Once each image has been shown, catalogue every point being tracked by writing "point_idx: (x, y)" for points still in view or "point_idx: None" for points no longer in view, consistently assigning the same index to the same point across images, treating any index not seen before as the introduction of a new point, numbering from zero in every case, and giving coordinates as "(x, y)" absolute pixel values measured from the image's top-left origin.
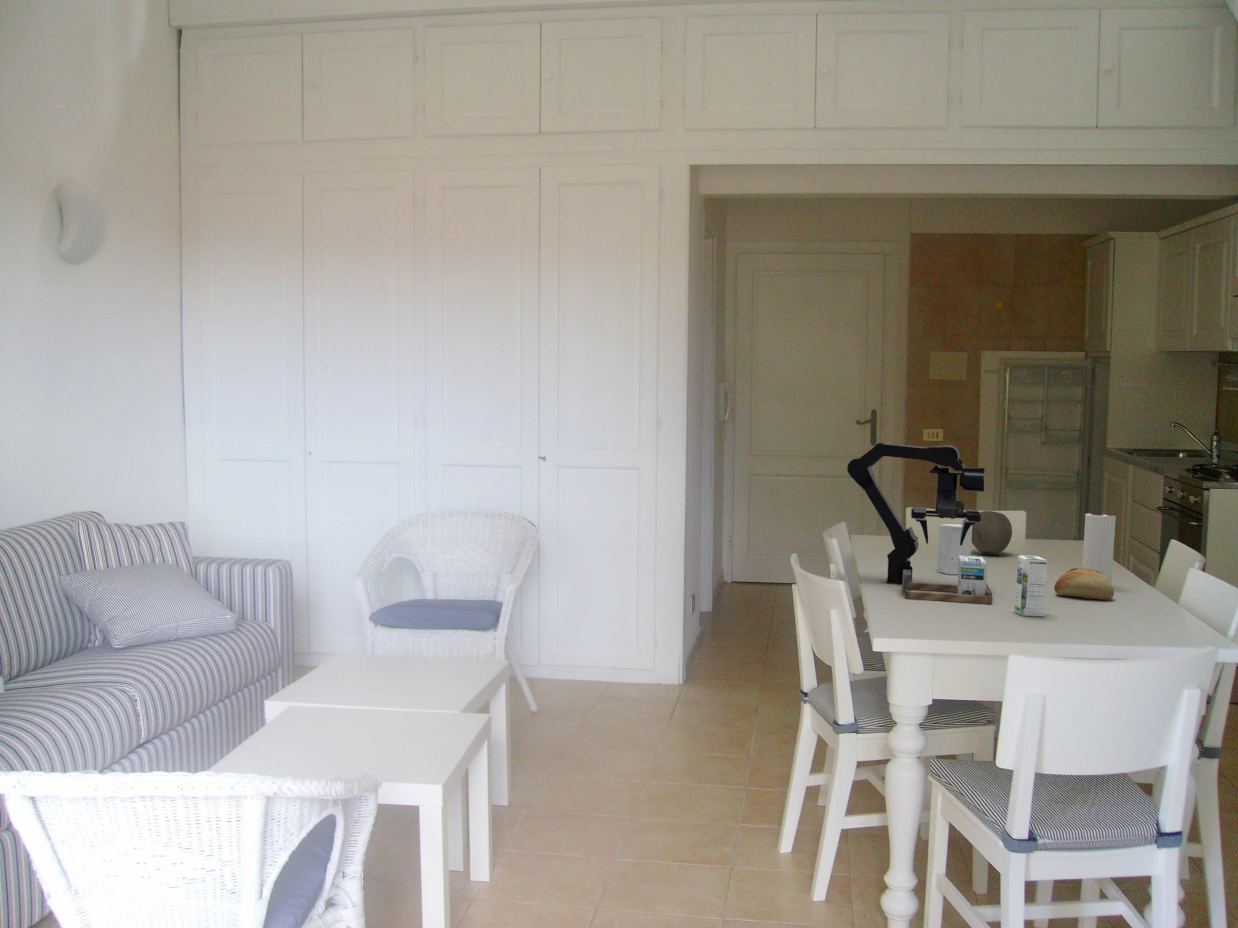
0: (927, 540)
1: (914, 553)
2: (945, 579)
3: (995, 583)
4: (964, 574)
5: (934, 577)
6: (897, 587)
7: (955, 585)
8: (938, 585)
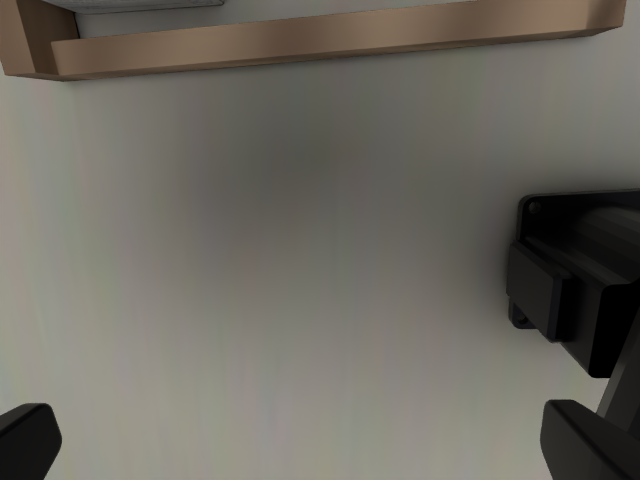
0: (589, 432)
1: (635, 318)
2: (307, 428)
3: (75, 408)
4: None
5: (361, 460)
6: (626, 58)
7: (227, 36)
8: (348, 15)
